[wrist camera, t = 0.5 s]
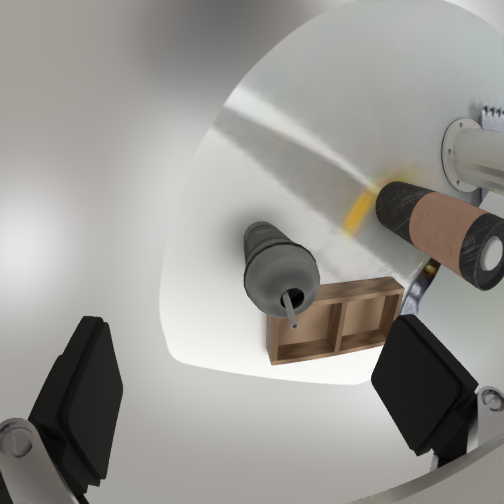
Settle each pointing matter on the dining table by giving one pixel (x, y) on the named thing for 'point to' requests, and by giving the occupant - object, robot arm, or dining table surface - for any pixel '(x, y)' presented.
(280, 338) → the tray
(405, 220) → the travel mug
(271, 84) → the dining table surface
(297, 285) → the beverage cup
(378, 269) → the dining table surface
